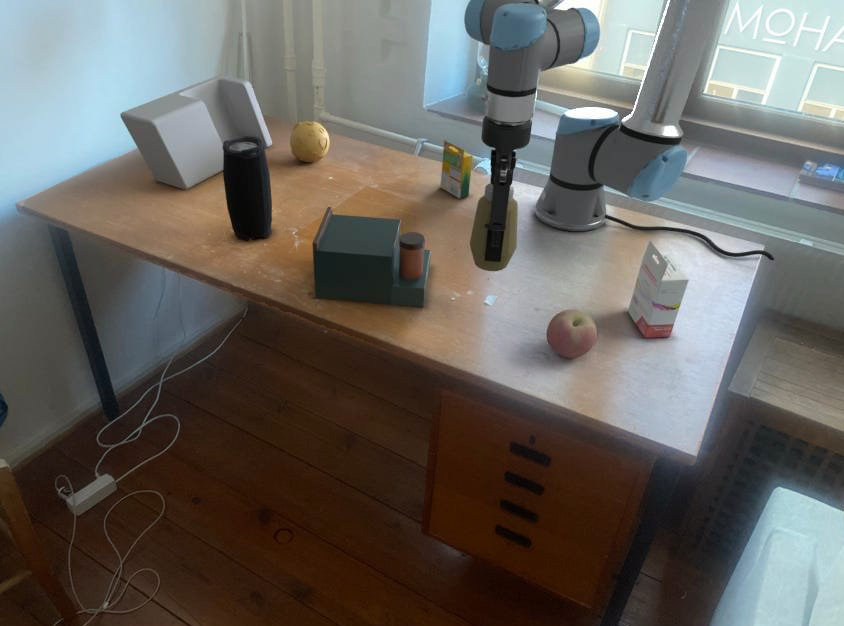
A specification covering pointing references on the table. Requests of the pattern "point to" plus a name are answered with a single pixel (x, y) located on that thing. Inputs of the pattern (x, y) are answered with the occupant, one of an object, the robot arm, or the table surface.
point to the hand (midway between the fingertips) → (492, 247)
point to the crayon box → (456, 170)
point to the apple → (571, 333)
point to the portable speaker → (247, 187)
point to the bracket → (195, 128)
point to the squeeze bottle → (480, 232)
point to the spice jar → (411, 255)
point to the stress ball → (309, 141)
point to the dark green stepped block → (364, 262)
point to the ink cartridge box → (657, 294)
